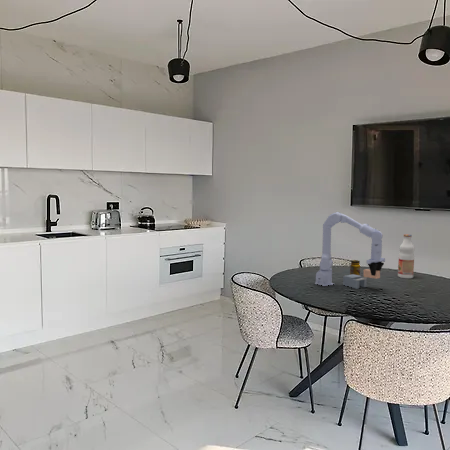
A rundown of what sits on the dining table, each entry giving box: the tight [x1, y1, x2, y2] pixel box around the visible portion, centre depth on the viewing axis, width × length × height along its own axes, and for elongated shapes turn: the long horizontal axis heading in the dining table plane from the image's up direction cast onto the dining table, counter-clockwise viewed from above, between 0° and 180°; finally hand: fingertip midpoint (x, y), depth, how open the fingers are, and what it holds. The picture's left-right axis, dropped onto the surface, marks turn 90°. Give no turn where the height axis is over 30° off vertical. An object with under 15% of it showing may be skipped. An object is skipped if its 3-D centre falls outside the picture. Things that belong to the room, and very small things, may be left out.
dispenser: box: [342, 274, 368, 290], centre depth 265 cm, size 10×9×6 cm
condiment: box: [349, 259, 361, 276], centre depth 284 cm, size 7×8×12 cm
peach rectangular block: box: [363, 268, 381, 280], centre depth 260 cm, size 9×3×4 cm, turn 35°
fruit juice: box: [397, 233, 415, 279], centre depth 291 cm, size 9×9×28 cm
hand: (375, 275), depth 258 cm, fingers closed on peach rectangular block, 3 cm apart
